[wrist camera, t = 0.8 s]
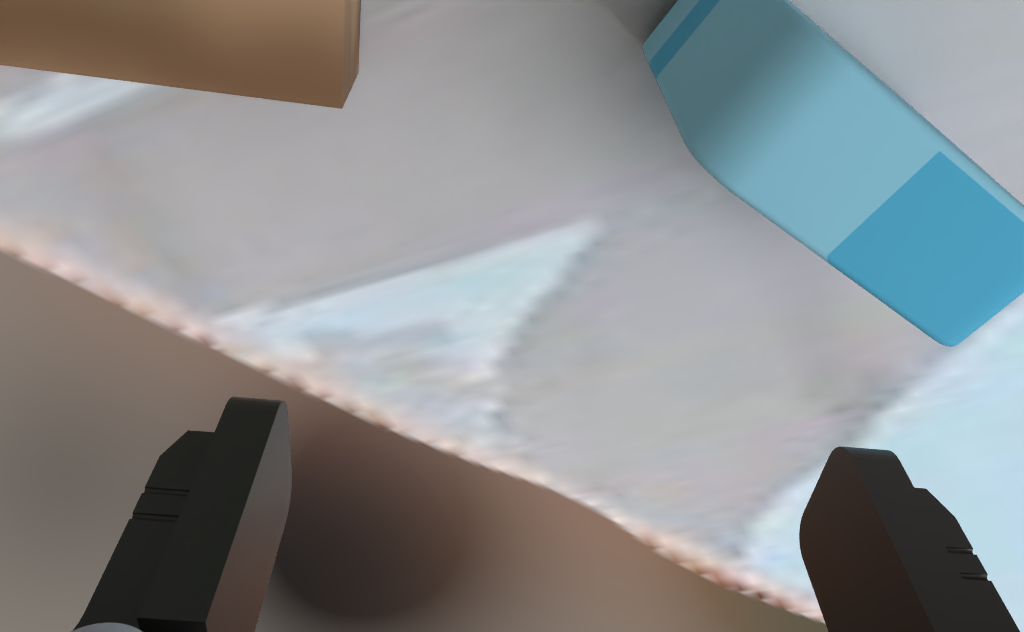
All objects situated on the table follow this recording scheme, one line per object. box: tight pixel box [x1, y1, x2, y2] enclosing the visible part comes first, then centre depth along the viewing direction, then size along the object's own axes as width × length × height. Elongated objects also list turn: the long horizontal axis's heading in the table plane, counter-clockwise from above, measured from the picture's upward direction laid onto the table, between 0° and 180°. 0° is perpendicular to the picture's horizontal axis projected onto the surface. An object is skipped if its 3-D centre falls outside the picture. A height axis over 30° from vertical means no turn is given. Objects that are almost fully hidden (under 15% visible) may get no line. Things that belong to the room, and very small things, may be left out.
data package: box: [643, 0, 1024, 347], centre depth 29 cm, size 12×4×12 cm, turn 54°
